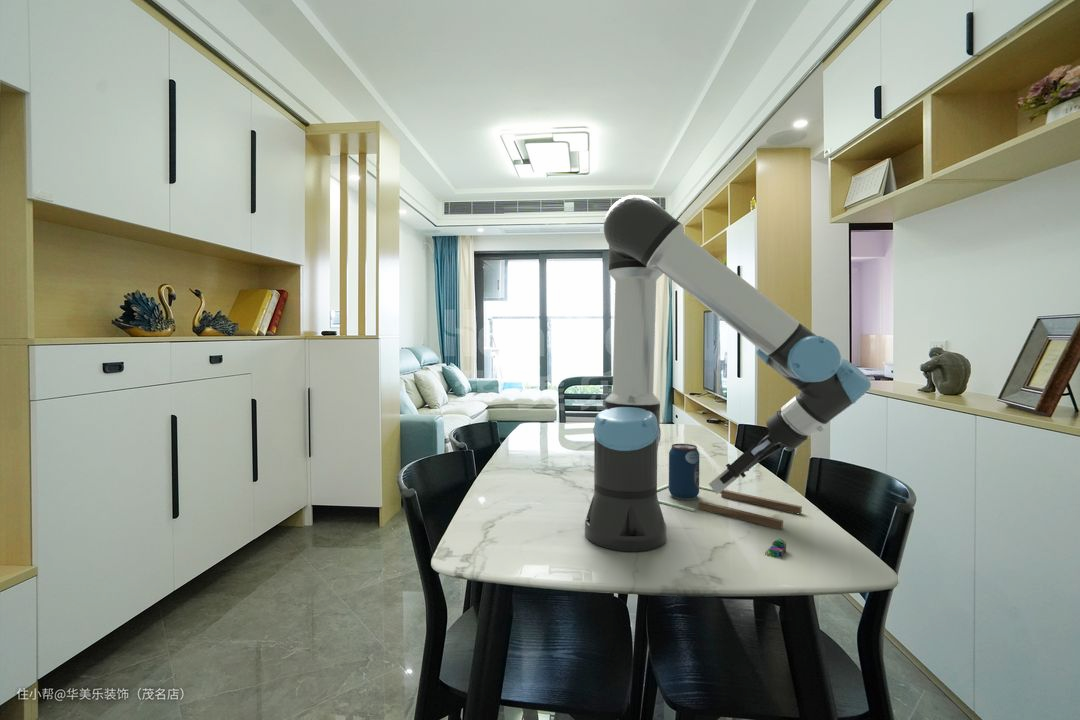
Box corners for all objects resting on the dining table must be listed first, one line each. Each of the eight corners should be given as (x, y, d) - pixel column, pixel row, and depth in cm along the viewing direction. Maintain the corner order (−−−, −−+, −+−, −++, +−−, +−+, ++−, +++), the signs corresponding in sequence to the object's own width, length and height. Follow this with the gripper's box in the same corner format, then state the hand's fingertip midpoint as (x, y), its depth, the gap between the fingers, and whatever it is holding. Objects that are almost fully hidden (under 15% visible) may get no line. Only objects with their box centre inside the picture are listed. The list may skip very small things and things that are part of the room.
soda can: (703, 500, 110) (703, 449, 110) (672, 500, 110) (673, 449, 110) (693, 491, 117) (694, 443, 117) (665, 491, 117) (665, 442, 117)
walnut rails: (780, 529, 93) (781, 522, 93) (698, 508, 105) (698, 502, 105) (801, 513, 102) (801, 506, 102) (723, 495, 114) (723, 489, 114)
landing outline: (693, 511, 103) (693, 509, 103) (638, 497, 113) (638, 495, 113) (727, 493, 116) (728, 491, 116) (676, 481, 125) (676, 480, 125)
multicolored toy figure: (768, 549, 85) (768, 536, 85) (786, 553, 83) (786, 540, 83) (761, 557, 82) (761, 543, 82) (779, 562, 80) (780, 547, 80)
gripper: (798, 442, 91) (713, 509, 103) (817, 433, 100) (737, 495, 112) (769, 412, 94) (689, 480, 106) (790, 406, 103) (715, 469, 115)
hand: (714, 488), depth 109 cm, fingers closed
